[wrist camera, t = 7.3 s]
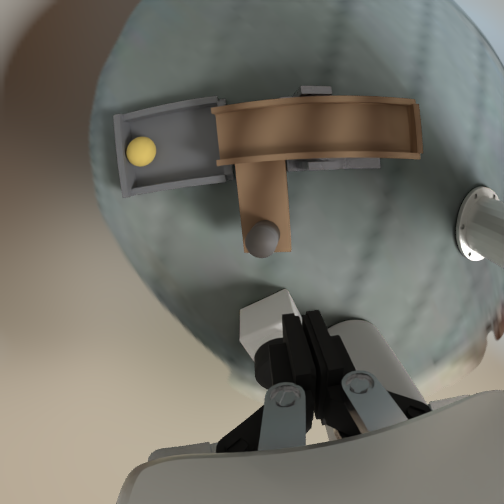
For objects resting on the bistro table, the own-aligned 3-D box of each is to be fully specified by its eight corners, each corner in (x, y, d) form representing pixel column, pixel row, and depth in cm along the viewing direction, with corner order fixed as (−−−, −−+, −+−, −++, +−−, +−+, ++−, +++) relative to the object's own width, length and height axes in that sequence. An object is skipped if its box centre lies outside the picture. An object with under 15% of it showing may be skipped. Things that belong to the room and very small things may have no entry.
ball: (118, 140, 27) (139, 139, 30) (122, 170, 28) (142, 166, 31) (140, 133, 26) (160, 133, 29) (144, 165, 27) (163, 162, 30)
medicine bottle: (238, 309, 38) (237, 368, 26) (286, 286, 37) (303, 341, 25) (261, 345, 40) (267, 406, 28) (306, 325, 39) (326, 383, 28)
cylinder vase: (301, 379, 43) (331, 514, 19) (313, 318, 39) (372, 474, 15) (368, 374, 43) (421, 488, 20) (388, 315, 39) (474, 434, 16)
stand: (373, 100, 29) (401, 90, 22) (379, 168, 32) (408, 172, 25) (279, 98, 29) (289, 82, 22) (287, 171, 32) (298, 175, 25)
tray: (225, 99, 29) (223, 92, 25) (233, 179, 32) (232, 181, 29) (125, 118, 29) (113, 115, 26) (133, 193, 32) (122, 198, 29)
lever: (408, 102, 22) (421, 96, 18) (411, 246, 27) (422, 259, 23) (217, 110, 26) (204, 105, 23) (233, 250, 31) (222, 263, 28)
